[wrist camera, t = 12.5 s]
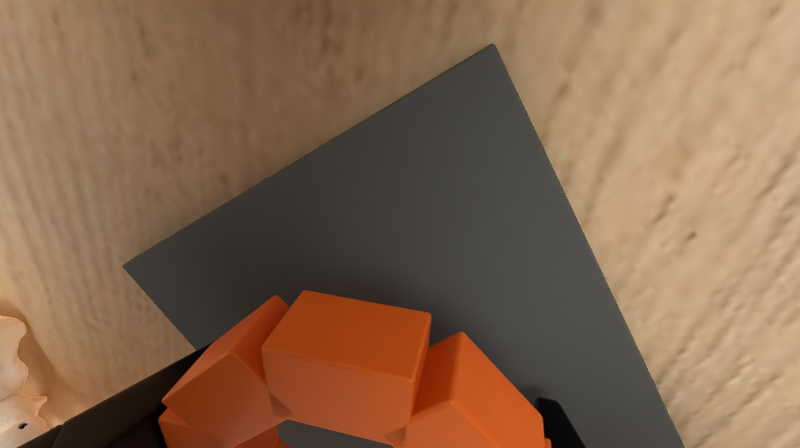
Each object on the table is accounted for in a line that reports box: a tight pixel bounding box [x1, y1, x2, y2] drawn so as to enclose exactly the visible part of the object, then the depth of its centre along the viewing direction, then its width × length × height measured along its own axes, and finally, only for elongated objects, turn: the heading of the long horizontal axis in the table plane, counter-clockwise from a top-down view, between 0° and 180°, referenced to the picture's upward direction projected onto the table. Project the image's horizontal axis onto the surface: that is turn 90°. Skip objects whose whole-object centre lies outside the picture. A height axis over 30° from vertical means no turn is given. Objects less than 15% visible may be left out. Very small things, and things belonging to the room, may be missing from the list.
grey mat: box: [123, 44, 684, 448], centre depth 10 cm, size 10×10×1 cm
